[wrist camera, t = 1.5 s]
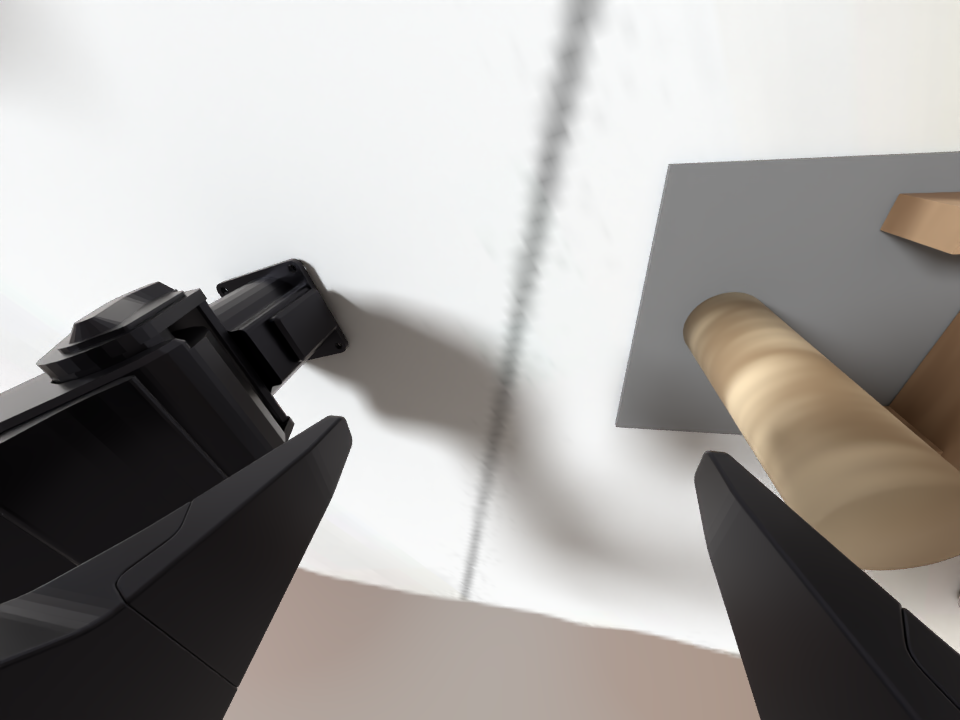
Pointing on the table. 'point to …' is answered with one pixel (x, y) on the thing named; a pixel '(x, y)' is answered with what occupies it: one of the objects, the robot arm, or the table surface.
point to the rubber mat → (790, 274)
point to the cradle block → (956, 355)
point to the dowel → (827, 439)
